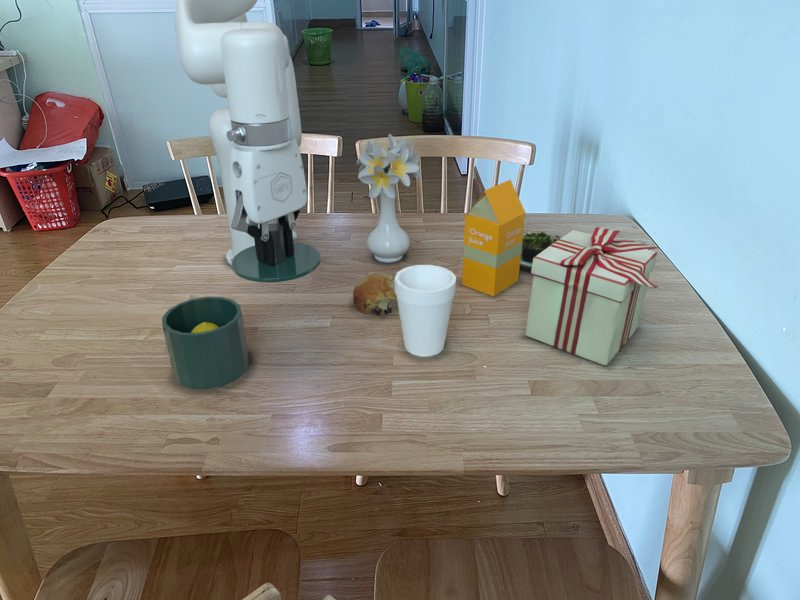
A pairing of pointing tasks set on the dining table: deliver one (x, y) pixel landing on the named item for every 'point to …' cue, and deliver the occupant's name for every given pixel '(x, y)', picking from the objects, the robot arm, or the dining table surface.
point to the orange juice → (493, 240)
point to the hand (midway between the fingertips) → (276, 257)
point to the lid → (277, 260)
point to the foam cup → (424, 307)
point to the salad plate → (534, 247)
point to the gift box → (589, 293)
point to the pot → (206, 342)
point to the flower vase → (387, 195)
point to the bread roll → (376, 294)
